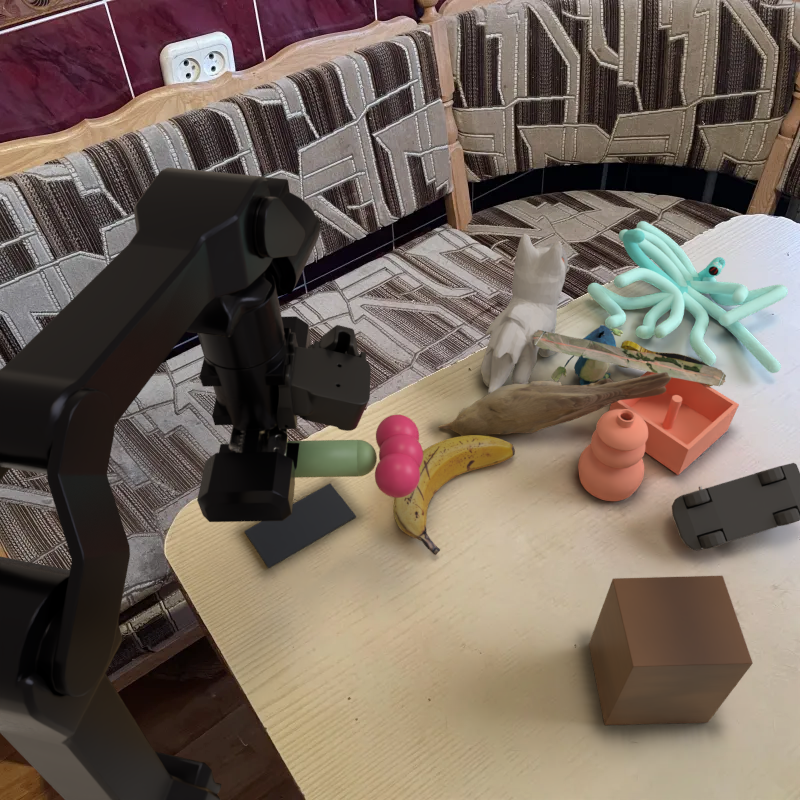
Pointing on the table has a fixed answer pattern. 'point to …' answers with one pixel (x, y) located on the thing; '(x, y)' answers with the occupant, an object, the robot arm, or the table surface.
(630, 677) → the block
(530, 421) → the sculpture
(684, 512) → the toy car
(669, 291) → the tentacled creature figurine
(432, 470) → the fruit
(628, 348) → the decorative item
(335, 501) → the placemat
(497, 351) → the toy
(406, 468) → the green pink knobbed rod
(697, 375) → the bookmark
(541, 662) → the table surface
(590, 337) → the toy figurine
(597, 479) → the pottery
